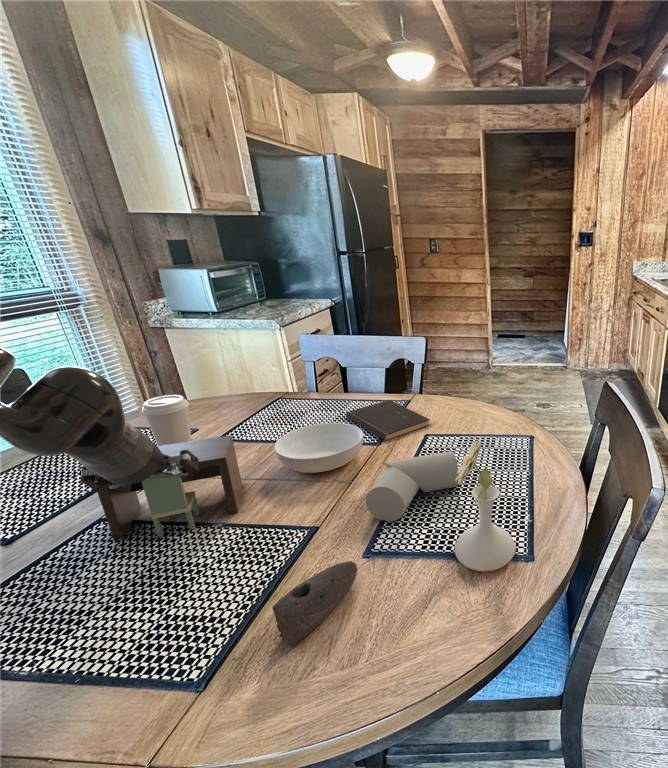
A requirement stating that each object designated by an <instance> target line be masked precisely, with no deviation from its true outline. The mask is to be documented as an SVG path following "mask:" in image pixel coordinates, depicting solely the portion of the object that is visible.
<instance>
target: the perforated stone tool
mask: <svg viewBox="0 0 668 768" xmlns="http://www.w3.org/2000/svg"><path fill="white" fill-rule="evenodd" d="M357 575H358V566H357V564H356V562H354V561H342V562H339V563H336V564H334V565H332V566H329V567H327V568H325V569H324V570H322V571H319V572H318V573H317V574H315V575H312V576H311V577H310V578H308V579H305V580H304V581H303V582H300V584H298V585H296V586H295V587H293V588H292V589H291V590H290V591H289V592H287V593H286V594H285V595H284V596H282V597H281V598H280V599H278V601H277V602H275V603H274V604H273V605H272V611H273V614H274V619H275V622H276V628H277V630H278V633H279V638H280V639H282V640H283V643H284V645H286V646H288V647H289V648H290V647H292V646H294V645H295V644H297V643H298V642H300V640H302V639H303V638H304V637H306V636H307V635H309V634H310V633H311V632H313V631H314V630H315V628H316V627H317V626H319V625H320V624H321V623H322V622H323V621H324V620H325V619H326V618H327V617H328V616H329V615H330V614H331V613H332V611H334V609H335V608H336V607H337V606H338V605H339V604H340V602H341V601H343V599H344V598H345V597H346V595H347V594H348V593H349V591H350V590H351V588H352V586H353V584H354V583H355V580H356V578H357Z"/></svg>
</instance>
